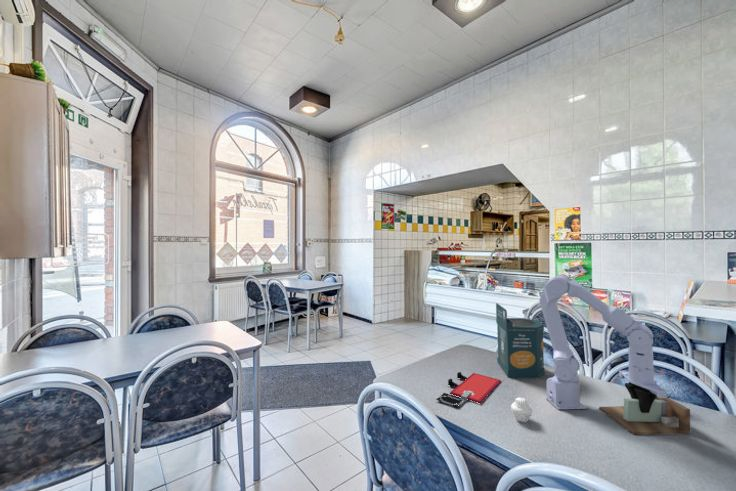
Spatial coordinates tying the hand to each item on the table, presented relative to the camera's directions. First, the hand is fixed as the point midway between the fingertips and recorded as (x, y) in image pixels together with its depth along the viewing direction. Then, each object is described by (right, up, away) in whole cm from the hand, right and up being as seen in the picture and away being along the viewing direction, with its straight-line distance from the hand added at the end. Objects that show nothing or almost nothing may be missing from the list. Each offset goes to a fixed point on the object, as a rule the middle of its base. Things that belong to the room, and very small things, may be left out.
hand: (641, 410), depth 96 cm
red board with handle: (-45, -6, +25) cm, 52 cm away
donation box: (-16, -5, +42) cm, 45 cm away
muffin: (-34, -5, +4) cm, 35 cm away
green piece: (0, -3, 0) cm, 3 cm away
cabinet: (+2, -4, +2) cm, 5 cm away
